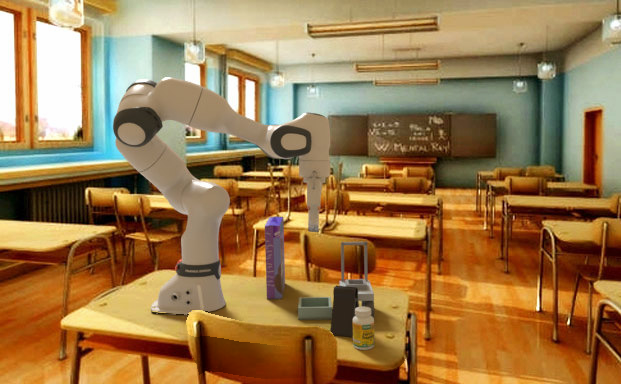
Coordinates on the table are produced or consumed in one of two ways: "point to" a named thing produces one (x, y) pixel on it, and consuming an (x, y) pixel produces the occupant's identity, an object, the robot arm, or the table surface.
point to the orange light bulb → (313, 221)
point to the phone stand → (344, 310)
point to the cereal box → (275, 257)
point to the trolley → (359, 280)
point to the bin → (314, 308)
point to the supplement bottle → (363, 329)
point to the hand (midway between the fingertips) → (313, 218)
